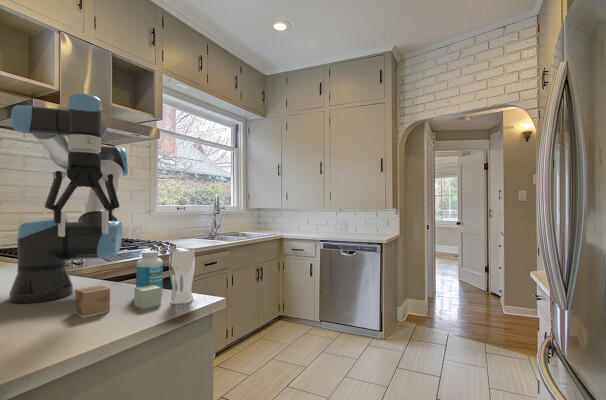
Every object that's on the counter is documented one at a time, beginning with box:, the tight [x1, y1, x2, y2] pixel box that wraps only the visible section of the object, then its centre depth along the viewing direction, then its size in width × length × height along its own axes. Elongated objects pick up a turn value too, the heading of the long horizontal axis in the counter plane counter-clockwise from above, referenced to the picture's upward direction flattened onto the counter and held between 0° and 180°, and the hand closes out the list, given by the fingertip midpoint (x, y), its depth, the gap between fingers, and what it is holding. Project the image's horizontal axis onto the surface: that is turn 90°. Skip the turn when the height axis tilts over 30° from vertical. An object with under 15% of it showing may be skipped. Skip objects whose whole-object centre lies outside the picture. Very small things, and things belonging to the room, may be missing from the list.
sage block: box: [133, 285, 162, 310], centre depth 94 cm, size 5×5×5 cm
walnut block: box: [74, 284, 111, 318], centre depth 87 cm, size 6×6×6 cm
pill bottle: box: [135, 250, 164, 295], centre depth 103 cm, size 8×7×14 cm
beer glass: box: [168, 247, 196, 306], centre depth 97 cm, size 7×7×15 cm
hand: (84, 234), depth 92 cm, fingers open, 10 cm apart
